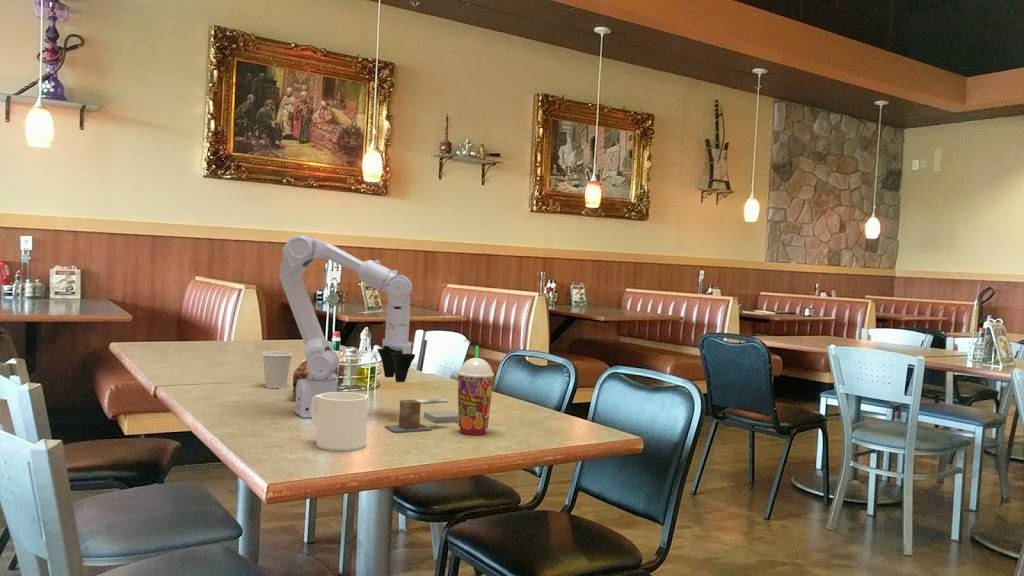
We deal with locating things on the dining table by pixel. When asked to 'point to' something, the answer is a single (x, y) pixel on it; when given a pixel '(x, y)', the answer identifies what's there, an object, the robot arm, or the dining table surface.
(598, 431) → the dining table surface
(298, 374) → the bread
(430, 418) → the tile
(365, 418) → the mug
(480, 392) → the smoothie
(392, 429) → the mat
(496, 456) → the dining table surface
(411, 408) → the brown white angled block
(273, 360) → the dixie cup
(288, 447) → the dining table surface
